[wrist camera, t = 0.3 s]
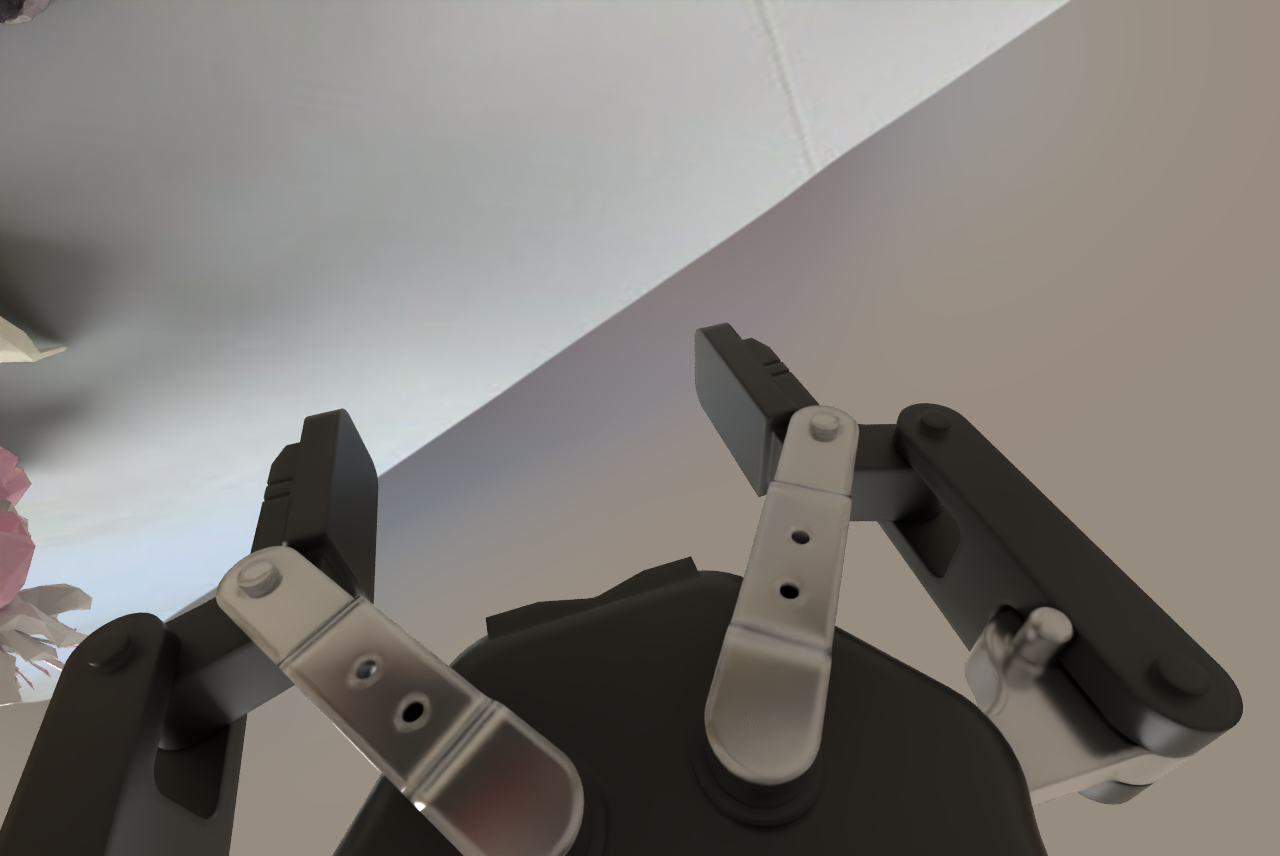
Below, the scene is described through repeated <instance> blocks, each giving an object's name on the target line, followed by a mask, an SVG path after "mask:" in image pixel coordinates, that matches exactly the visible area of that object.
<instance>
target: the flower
mask: <svg viewBox="0 0 1280 856" xmlns="http://www.w3.org/2000/svg"><path fill="white" fill-rule="evenodd" d="M65 350H66V346H65V347H56V348H47V349H39V350H38V349H37V348H36V347H35V345H34V344H33V343H32V341H31V340H30V338H29V337H28V336H27V334H26V333H25V332H24V331H22V330H21V329H19V328H18V327H16V326H15V325H13V324H11V323H10V322H8V321H7V320H5V319H4V318H2V317H1V316H0V362H35V361H37V360H40V359H43V358H45V357H48V356H51V355H54V354H56V353H59V352H62V351H65ZM18 461H19V458H18V457H16V456H15V455H13V454H12V453H10V452H9V451H8V450H6V449H4V448H2V447H0V706H3V705H8V704H14V703H20V702H22V699H21V696H20V692H19V689H20V688H21V685H20V683H19V682H18V680H17V678H16V675H17V672H18V673H19V674H20V675H21V676H22V677H23V678H24V679H25V680H26V681H27V683H28V684H29V685H30V686H31V687H32V688H33V686H32V684H31V682H30V681H28V680H27V679H26V678H25V677H24V676H23V675H22V674H21V673H20V672H19V671H18V669H19V668H17V667H16V666H15V661H16V657H14V656H12V655H9V654H7V653H5V652H15V653H16V654H17V655H18V656H20V657H21V658H22V659H23V660H24V661H25V662H29V663H31V664H32V665H34V666H35V667H37V668H38V669H40V670H41V671H43V672H44V673H45V674H47V675H48V676H50V675H49V673H48V672H47V670H46V669H44V668H42V667H40V666H38V665H36V664H34V663H32V662H31V661H40V660H43V661H45V662H46V663H48V664H50V665H52V666H53V667H55V668H57V669H58V670H60V671H62V670H63V667H64V665H65V664H63V663H62V662H60V661H58V660H56V659H57V658H58V657H57V653H56V649H55V648H53V647H51V646H48V645H46V644H44V643H41V642H39V641H42V642H46V643H49V644H53V645H56V646H57V647H58V648H60V647H77V646H73V645H75V644H79V643H81V642H82V641H83V640H84V639H85V638H87V637H88V635H84V634H81V633H77V632H75V631H76V629H72V628H70V627H68V626H66V625H64V624H62V623H61V622H59V621H58V619H57V616H58V613H62V612H65V611H69V610H86V609H90V607H91V602H92V598H91V597H90V596H89V595H87V594H86V593H85V592H83V591H82V590H81V589H80V588H77V587H74V586H71V585H68V584H55V585H45V586H38V587H35V588H30V589H23V590H21V591H19V590H20V589H21V588H22V586H23V585H24V584H25V581H26V577H27V574H28V570H29V567H30V563H31V560H32V556H33V553H34V549H35V545H34V543H33V542H32V540H31V535H30V534H29V532H28V519H25V518H23V517H21V516H19V515H18V513H17V511H16V510H15V508H14V506H15V505H16V504H17V503H18V502H19V500H20V499H21V497H22V496H23V495H24V493H25V492H26V490H27V489H28V488H29V486H30V485H31V482H30V481H29V479H28V477H27V475H26V474H25V472H24V470H22V469H20V468H17V467H15V466H16V464H17V462H18ZM36 634H42V635H44V636H46V637H47V638H48V639H49V640H45V639H40V638H35V637H31V636H30V635H36ZM37 640H38V641H37ZM50 677H51V676H50Z"/></svg>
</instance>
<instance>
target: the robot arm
mask: <svg viewBox="0 0 1280 856" xmlns="http://www.w3.org/2000/svg"><path fill="white" fill-rule="evenodd" d="M695 384H696V391H697V395H698V398H699V401H700V403H701V405H702V407H703V409H704V410H705V412H706V414H707V415H708V417H709V418H710V420H711V421H712V423H713V425H714V426H715V428H716V430H717V431H718V433H719V434H720V436H721V438H722V439H723V441H724V442H725V444H726V445H727V447H728V449H729V450H730V452H731V454H732V455H733V457H734V458H735V460H736V462H737V463H738V465H739V466H740V468H741V470H742V471H743V473H744V474H745V476H746V478H747V479H748V481H749V482H750V484H751V486H752V487H753V489H754V490H755V492H756V494H757V495H758V497H760V496H764V495H766V499H765V502H764V506H763V509H762V513H761V516H760V520H759V524H758V527H757V531H756V535H755V538H754V542H753V545H752V549H751V553H750V556H749V560H748V564H747V567H746V571H745V574H744V577H741V576H738V575H734V574H731V573H725V572H719V571H698V570H697V568H696V566H695V564H694V562H693V560H692V557H688V558H684V559H681V560H677V561H674V562H671V563H667V564H664V565H661V566H657V567H654V568H651V569H647V570H644V571H642V572H640V573H638V574H636V575H635V576H633V577H631V578H629V579H628V580H626V581H624V582H622V583H621V584H619V585H617V586H615V587H614V588H612V589H610V590H608V591H607V592H605V593H603V594H601V595H599V596H597V597H594V598H588V599H574V600H559V601H545V602H537V603H534V604H530V605H527V606H523V607H520V608H517V609H514V610H510V611H507V612H503V613H500V614H497V615H493V616H490V617H487V618H486V624H487V632H488V635H486V636H484V637H483V638H481V639H479V640H478V641H476V642H475V643H474V644H472V645H471V646H469V647H468V648H467V649H466V650H464V651H463V652H462V653H461V654H460V655H459V656H458V657H457V658H456V659H455V660H454V661H453V662H452V663H451V664H450V665H449V666H448V665H447V664H446V663H444V662H443V661H442V660H441V659H439V658H438V657H437V656H436V655H434V654H433V653H432V652H431V651H429V650H428V649H427V648H426V647H425V646H423V645H422V644H421V643H420V642H418V641H417V640H416V639H415V638H413V637H412V636H411V635H410V634H409V633H407V632H406V631H405V630H404V629H402V628H401V627H400V626H399V625H398V624H396V623H395V622H394V621H393V620H391V619H390V618H389V617H388V616H386V615H385V614H384V613H383V612H381V611H380V610H379V609H378V608H377V607H375V606H374V605H373V604H374V580H375V555H376V531H377V506H378V478H377V473H376V470H375V466H374V463H373V461H372V459H371V457H370V455H369V453H368V451H367V449H366V447H365V445H364V443H363V441H362V439H361V437H360V435H359V433H358V431H357V429H356V427H355V425H354V423H353V421H352V419H351V417H350V416H349V414H348V412H347V411H346V410H345V409H339V410H334V411H330V412H325V413H321V414H317V415H312V416H308V417H306V418H305V420H304V425H303V430H302V435H301V440H300V442H299V443H295V444H291V445H286V446H285V448H284V449H283V450H282V452H281V453H280V454H279V455H278V457H277V458H276V459H275V461H274V462H273V463H272V465H271V469H270V474H269V478H268V482H267V484H268V486H267V487H266V490H265V494H264V501H265V502H263V503H262V507H261V511H260V515H259V520H258V524H257V528H256V532H255V536H254V541H253V545H252V549H251V553H250V555H248V556H246V557H245V558H243V559H242V560H240V561H239V562H238V563H236V564H235V565H234V566H233V567H232V568H231V569H230V570H229V571H228V572H227V573H226V574H225V575H224V577H223V578H222V580H221V581H220V583H219V586H218V588H217V592H216V597H214V598H213V599H212V600H209V601H208V602H206V603H204V604H202V605H200V606H198V607H196V608H194V609H192V610H190V611H189V612H186V613H184V614H182V615H180V616H179V617H177V618H175V619H173V620H171V621H169V622H167V623H164V622H162V621H161V620H160V619H159V618H158V617H157V616H155V615H153V614H150V613H133V614H129V615H125V616H122V617H120V618H117V619H115V620H113V621H111V622H108V623H107V624H105V625H103V626H102V627H100V628H98V629H97V630H96V631H94V632H93V633H91V634H90V635H89V636H88V637H87V638H85V639H84V640H83V641H82V642H81V643H80V644H79V645H78V646H77V647H76V648H75V650H74V651H73V652H72V653H71V655H70V656H69V658H68V659H67V661H66V663H65V665H64V667H63V670H62V672H61V675H60V677H59V680H58V683H57V685H56V688H55V690H54V693H53V696H52V698H51V701H50V703H49V706H48V708H47V711H46V714H45V716H44V719H43V721H42V724H41V727H40V729H39V732H38V734H37V737H36V740H35V742H34V745H33V747H32V750H31V752H30V755H29V758H28V760H27V763H26V765H25V768H24V771H23V773H22V776H21V778H20V781H19V784H18V786H17V789H16V791H15V794H14V797H13V799H12V802H11V804H10V807H9V810H8V812H7V815H6V817H5V820H4V822H3V825H2V828H1V830H0V856H229V850H230V843H231V836H232V827H233V820H234V812H235V804H236V797H237V789H238V782H239V774H240V766H241V758H242V751H243V742H244V735H245V727H246V719H247V713H248V712H250V711H252V710H253V709H255V708H257V707H259V706H260V705H262V704H263V703H265V702H267V701H269V700H270V699H272V698H274V697H275V696H277V695H279V694H280V693H282V692H284V691H285V690H287V689H288V688H290V687H292V686H294V685H295V686H297V688H299V690H300V691H301V692H302V693H303V694H304V695H305V696H306V697H307V698H308V699H309V700H310V701H311V702H312V703H313V704H314V705H315V706H316V707H317V708H318V709H319V710H320V711H321V712H322V713H323V714H324V715H325V716H326V717H327V718H328V719H329V720H330V721H331V722H332V723H333V724H334V725H335V726H336V727H337V728H338V729H339V731H340V732H341V733H342V734H343V735H344V736H345V737H346V738H348V740H349V741H350V742H351V743H352V744H353V745H354V746H355V747H356V748H357V749H358V750H359V751H360V752H361V753H362V754H363V755H364V756H365V757H366V758H367V759H368V760H369V761H370V762H371V763H372V764H373V765H374V766H375V768H376V769H377V770H378V771H379V772H380V773H381V775H380V777H379V779H378V780H377V782H376V784H375V785H374V787H373V789H372V791H371V792H370V794H369V795H368V797H367V799H366V800H365V802H364V804H363V806H362V807H361V809H360V811H359V812H358V814H357V815H356V817H355V819H354V821H353V822H352V824H351V826H350V827H349V829H348V831H347V832H346V834H345V836H344V837H343V839H342V841H341V842H340V844H339V846H338V847H337V849H336V851H335V852H334V854H333V856H1048V854H1047V852H1046V849H1045V847H1044V844H1043V842H1042V839H1041V836H1040V833H1039V829H1038V826H1037V823H1036V819H1035V815H1034V811H1033V806H1036V805H1039V804H1042V803H1045V802H1048V801H1051V800H1054V799H1057V798H1060V797H1064V796H1067V795H1070V794H1073V793H1076V792H1078V793H1079V794H1081V795H1083V796H1085V797H1087V798H1088V799H1091V800H1094V801H1096V802H1100V803H1104V804H1113V805H1114V804H1121V803H1125V802H1127V801H1129V800H1130V799H1132V798H1133V797H1135V796H1136V795H1138V794H1139V793H1140V792H1142V791H1143V790H1144V789H1146V788H1147V787H1149V786H1150V785H1152V784H1153V783H1154V782H1156V781H1157V780H1158V779H1160V778H1161V777H1163V776H1164V775H1166V774H1167V773H1169V772H1170V771H1171V770H1173V769H1174V768H1176V767H1177V766H1178V765H1180V764H1181V763H1183V762H1184V761H1185V760H1187V759H1188V758H1190V757H1191V756H1192V755H1194V754H1195V753H1197V752H1198V751H1199V750H1201V749H1202V748H1204V747H1205V746H1206V745H1208V744H1209V743H1211V742H1212V741H1214V740H1215V739H1217V738H1218V737H1219V736H1221V735H1222V734H1224V733H1225V732H1226V731H1227V730H1229V729H1230V728H1232V727H1233V726H1235V725H1236V724H1237V723H1238V722H1239V720H1240V719H1241V716H1242V713H1243V703H1242V698H1241V695H1240V693H1239V690H1238V688H1237V687H1236V685H1235V683H1234V681H1233V680H1232V679H1231V677H1230V676H1229V675H1228V673H1227V672H1226V671H1225V670H1224V669H1223V668H1222V667H1221V666H1220V665H1219V664H1218V663H1217V662H1216V661H1215V660H1214V659H1213V658H1212V657H1211V656H1210V655H1209V654H1208V653H1207V652H1206V651H1205V650H1204V649H1203V648H1202V647H1200V645H1198V644H1197V643H1196V642H1195V641H1194V640H1193V639H1192V638H1191V637H1190V636H1189V635H1188V634H1187V633H1186V632H1185V631H1184V630H1183V629H1182V628H1181V627H1180V626H1179V625H1178V624H1177V623H1176V622H1175V621H1174V620H1173V619H1172V618H1171V617H1170V616H1169V615H1168V614H1167V613H1165V612H1164V611H1163V610H1162V609H1161V608H1160V607H1159V606H1158V605H1157V604H1156V603H1155V602H1154V601H1153V600H1152V599H1151V598H1150V597H1149V596H1148V595H1147V594H1146V593H1145V592H1144V591H1143V590H1142V589H1141V588H1140V587H1138V585H1137V584H1136V583H1135V582H1133V581H1132V580H1131V579H1130V578H1129V577H1128V576H1127V575H1126V574H1125V573H1124V572H1123V571H1122V570H1121V569H1120V568H1119V567H1118V566H1117V565H1116V564H1115V563H1114V562H1113V561H1112V560H1111V559H1110V558H1109V557H1108V556H1107V555H1105V553H1104V552H1102V550H1101V549H1100V548H1098V547H1097V546H1096V545H1095V544H1094V543H1093V542H1092V541H1091V540H1090V539H1089V538H1088V537H1087V536H1086V535H1085V534H1084V533H1083V532H1082V531H1081V530H1080V529H1079V528H1078V527H1077V526H1076V525H1075V524H1074V523H1073V522H1072V521H1071V520H1069V518H1068V517H1067V516H1065V515H1064V514H1063V513H1062V512H1061V511H1060V510H1059V509H1058V508H1057V507H1056V506H1055V505H1054V504H1053V503H1052V502H1051V501H1050V500H1049V499H1048V498H1047V497H1046V496H1045V495H1044V494H1042V492H1041V491H1040V490H1039V489H1038V488H1037V487H1036V486H1035V485H1033V483H1032V482H1030V481H1029V480H1028V479H1027V478H1026V477H1025V476H1024V475H1023V474H1022V473H1021V472H1020V471H1019V470H1018V469H1017V468H1016V467H1015V466H1014V465H1013V464H1012V463H1011V462H1010V461H1009V460H1008V459H1007V458H1006V457H1005V456H1004V455H1003V454H1002V453H1001V452H999V451H998V450H997V449H996V448H995V447H994V446H993V445H992V444H991V443H990V442H989V441H988V440H987V439H986V438H985V437H984V436H983V435H982V434H981V433H980V432H979V431H978V430H977V429H976V428H975V427H974V426H973V425H972V424H971V423H970V422H969V421H968V420H966V418H964V417H963V416H962V415H961V414H959V413H958V412H956V411H954V410H952V409H950V408H947V407H945V406H941V405H937V404H929V403H921V404H915V405H911V406H908V407H906V408H905V409H903V410H902V411H901V413H900V414H899V417H898V420H897V424H878V425H877V424H876V425H875V424H874V425H863V424H862V425H861V424H857V422H856V421H855V420H854V418H853V417H852V416H850V415H849V414H848V413H846V412H844V411H842V410H840V409H838V408H835V407H830V406H823V405H819V404H818V402H817V401H816V400H815V399H814V398H813V397H812V396H811V395H810V393H809V392H808V391H807V390H806V389H805V388H804V386H803V385H802V384H801V383H800V382H799V381H798V379H796V377H795V376H794V375H793V374H792V373H791V372H789V369H788V368H787V367H786V366H785V365H784V363H783V362H780V359H779V358H778V357H777V355H776V354H775V353H774V352H773V351H772V350H771V349H770V347H768V346H766V345H764V344H762V343H761V342H759V341H757V340H755V339H753V338H749V339H745V340H742V339H741V338H740V336H739V335H738V334H737V333H736V331H735V330H734V329H733V328H732V327H731V325H730V324H728V323H722V324H718V325H713V326H709V327H705V328H700V329H697V330H696V333H695ZM849 521H877V522H878V523H879V524H880V526H881V527H882V529H883V530H884V531H885V533H886V534H887V536H888V537H889V539H890V540H891V541H892V543H893V544H894V546H895V547H896V548H897V550H898V551H899V553H900V554H901V555H902V557H903V558H904V560H905V561H906V562H907V564H908V565H909V567H910V568H911V569H912V571H913V572H914V574H915V575H916V577H917V578H918V579H919V581H920V582H921V584H922V585H923V587H924V588H925V589H926V591H927V592H928V594H929V595H930V596H931V598H932V599H933V601H934V602H935V604H936V605H937V606H938V608H939V609H940V611H941V612H942V613H943V615H944V616H945V618H946V619H947V620H948V622H949V623H950V625H951V626H952V628H953V629H954V630H955V632H956V633H957V634H958V636H959V637H960V639H961V640H962V642H963V643H964V644H965V646H966V647H967V649H968V650H969V652H970V653H969V655H968V657H967V658H966V662H965V676H966V679H967V682H968V684H969V686H970V688H971V690H972V692H973V694H974V696H975V699H976V702H977V706H978V707H977V706H976V705H974V704H973V703H972V702H971V701H969V700H968V699H967V698H965V697H964V696H963V695H961V694H959V693H957V692H956V691H954V690H952V689H951V688H949V687H948V686H946V685H944V684H942V683H940V682H938V681H936V680H935V679H933V678H931V677H929V676H927V675H925V674H924V673H922V672H920V671H918V670H916V669H914V668H912V667H911V666H909V665H907V664H905V663H903V662H901V661H899V660H898V659H896V658H894V657H892V656H890V655H888V654H887V653H885V652H883V651H881V650H879V649H877V648H876V647H874V646H872V645H870V644H868V643H866V642H865V641H863V640H861V639H859V638H857V637H855V636H853V635H852V634H850V633H848V632H846V631H844V630H842V629H841V628H838V627H837V626H835V621H836V614H837V606H838V598H839V591H840V585H841V577H842V570H843V563H844V555H845V547H846V541H847V533H848V526H849Z"/></svg>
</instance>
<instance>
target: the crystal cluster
mask: <svg viewBox="0 0 1280 856" xmlns="http://www.w3.org/2000/svg"><path fill="white" fill-rule="evenodd" d="M50 1H51V0H0V23H8V24H15V23H23V22H27V21H31V20H32V19H33V18H34V16H35V15H36V14H38V13H41V12H43V11H44V10H45V8H46V7H47V5H48V4H49V2H50Z"/></svg>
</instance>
